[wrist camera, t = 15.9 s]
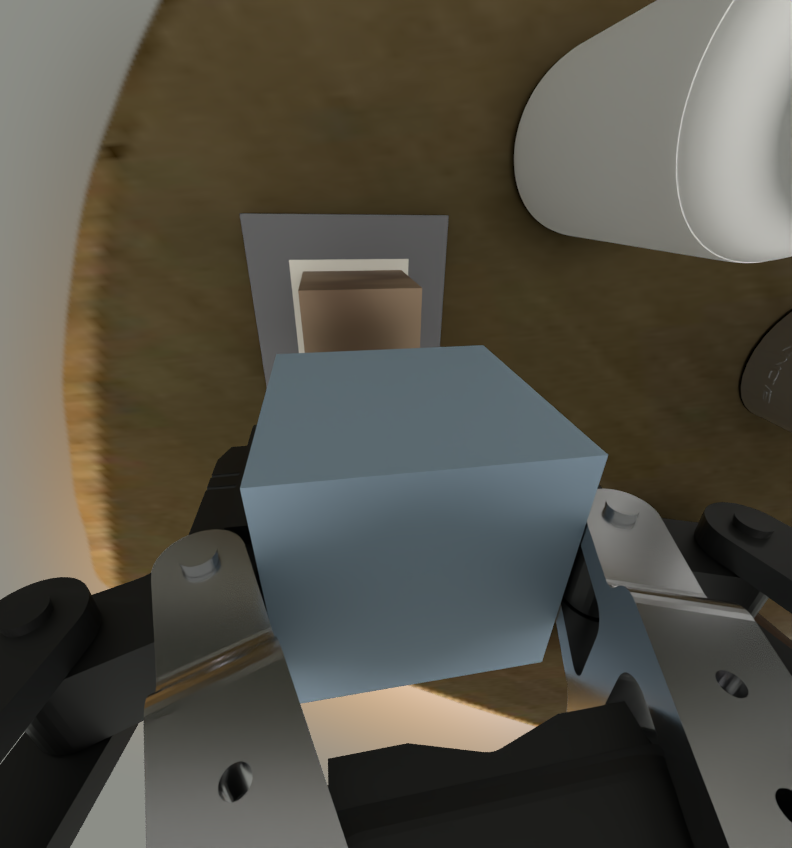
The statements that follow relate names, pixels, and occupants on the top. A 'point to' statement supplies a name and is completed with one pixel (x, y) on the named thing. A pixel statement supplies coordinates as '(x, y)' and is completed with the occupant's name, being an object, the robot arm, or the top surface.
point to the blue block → (412, 515)
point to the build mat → (337, 265)
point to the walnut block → (359, 310)
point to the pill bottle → (669, 133)
